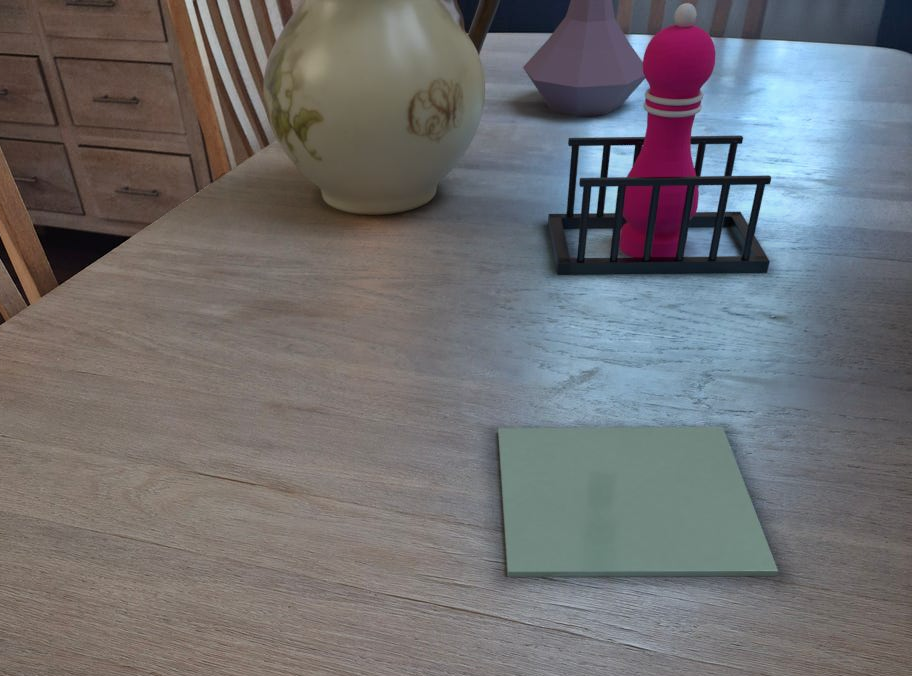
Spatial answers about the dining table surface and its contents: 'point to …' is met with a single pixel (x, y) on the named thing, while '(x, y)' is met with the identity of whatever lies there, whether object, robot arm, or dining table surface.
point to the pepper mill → (668, 131)
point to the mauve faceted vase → (586, 62)
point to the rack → (741, 230)
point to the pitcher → (377, 97)
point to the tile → (627, 504)
